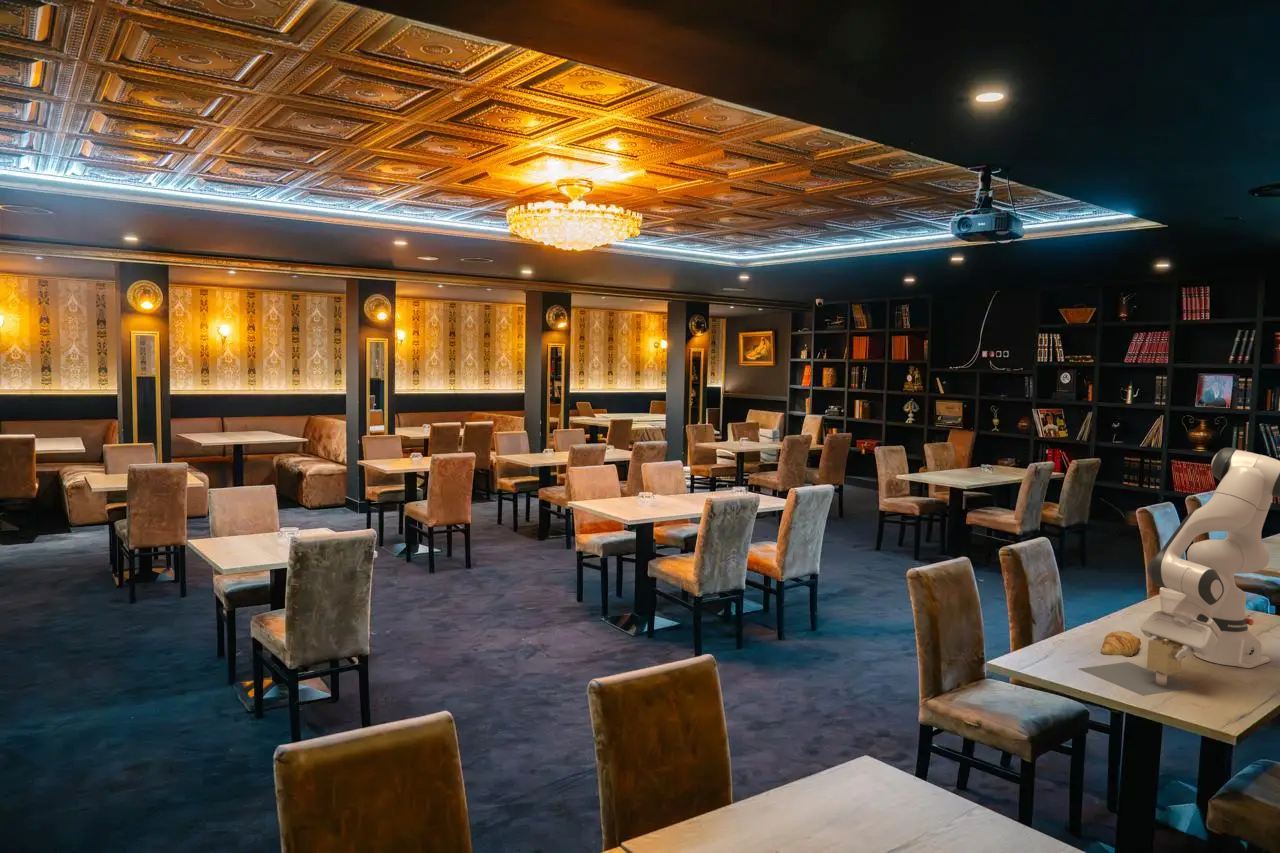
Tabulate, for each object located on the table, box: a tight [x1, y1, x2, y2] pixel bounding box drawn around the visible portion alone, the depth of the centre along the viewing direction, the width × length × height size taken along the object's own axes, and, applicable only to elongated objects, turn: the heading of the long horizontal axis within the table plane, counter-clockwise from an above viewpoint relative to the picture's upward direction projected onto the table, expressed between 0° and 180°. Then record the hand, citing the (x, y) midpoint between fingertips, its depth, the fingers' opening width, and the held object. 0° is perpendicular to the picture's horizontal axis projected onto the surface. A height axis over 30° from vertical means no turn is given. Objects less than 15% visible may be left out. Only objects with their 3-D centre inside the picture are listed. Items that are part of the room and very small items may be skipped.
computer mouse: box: [1155, 670, 1168, 686], centre depth 246 cm, size 3×3×4 cm
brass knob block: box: [1146, 639, 1183, 675], centre depth 245 cm, size 6×6×9 cm
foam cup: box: [1158, 587, 1186, 613], centre depth 307 cm, size 10×9×13 cm
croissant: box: [1100, 630, 1142, 657], centre depth 276 cm, size 21×10×8 cm, turn 123°
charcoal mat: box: [1078, 661, 1196, 697], centre depth 251 cm, size 21×22×1 cm
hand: (1163, 654), depth 245 cm, fingers closed on brass knob block, 6 cm apart
